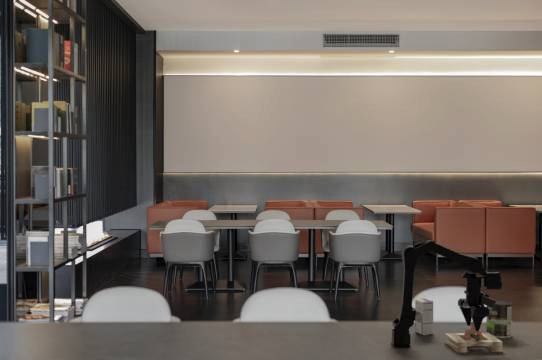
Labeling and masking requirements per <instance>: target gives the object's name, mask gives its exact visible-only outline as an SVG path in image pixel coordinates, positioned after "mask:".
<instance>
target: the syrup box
mask: <svg viewBox="0 0 542 360" xmlns="http://www.w3.org/2000/svg"><path fill="white" fill-rule="evenodd" d="M414 301H415V302H414V308H415V310H416V315H415V319H416V321H414V325H415V326H414V329H415V330H414V332H415V333H416V334H418V333H419V335H421V336H430V335H429V334H432V335H434V300H433V299H432V300H431V299H428V298H417V299H415V300H414Z"/></svg>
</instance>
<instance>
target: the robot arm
mask: <svg viewBox="0 0 542 360" xmlns="http://www.w3.org/2000/svg"><path fill="white" fill-rule="evenodd" d="M431 252H432V253H435V254H437V255H439V256H441V257H444V258H446V259H448V260H451V261H453V262H455V263H457V264H459V265H461V266H462V267H463V268H465V269H466V270H468V271H470V273H469V272H467V271H466V270H465V271H463V273H462V274H461V275H460V276H461V278H463V279H465V289H464V290H463V292H464V294H465V298H459V299H458V300H457V306H458V307H459V309H460V312H461V314H462V315H463V318H464V321H465V323H466V325H467V326H468V327H469V326H470V327H471V322H473V324H474V327H475V330H476V331H479V330H481V326H482V323H483V320H484V319H485V318H486V317H487V316H488V315H490V310H489V309H488V308H487V306H490V307H491V308H494V306H495V303H496V301H495V300H496V299H493V298H492V297H490V295H489V294H487V293H485V292H483V291H482V287H484V290H498V291H499V290H502V288H503V286H502V285H503V281H502V277H501V273H500V272H499V271H494V272H492V271H491V272H488V271H486V269H485V268H484V264H483V261H482V260H481V259H479V258H478V257H476V256H473V255H468V254H466V253H465V254H464V253H460V252H458V251H455V250H453V249H451V248H448V247H446V246H444V245H441V244H439V243H436V241H433V240H431V239H427V240H426V241H423V242H419V243H417V244H414V245H412V244H411V245H410V244H409V245H405V246H403V247H402V249H401V255H402V256H401V258H402V259H401V260H402V265H403V279H402V294H401V295H402V296H401V304H400V306H399V309H398V314H397V317H396V318H395V319H394V320H393V321H392V322H391V323H392V327H393V328H391V341H390V345H392V346H393V347H394V348H411V338H412V337H411V333H410V328H412V327H413V326H414V325H415V321H416V319H415V315H416V310H415V307H413V293H414V276H415V275H414V274H415V269H416V266H417V262H418V259H419V257H421V256H423V255H425V254H428V253H431ZM477 274H479V275H477Z"/></svg>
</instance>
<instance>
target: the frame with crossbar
mask: <svg viewBox="0 0 542 360" xmlns="http://www.w3.org/2000/svg"><path fill="white" fill-rule="evenodd" d="M464 336H465V332H455V333H454V332H448V333H447V332H445V333H444V344H445V345H447V346H448V347H449V348H450V347H451V348H450V349H452V350H453V351H454V352H455V353H462V354H464V353H468V347H484V348H486V349H488V350H489V351H490V352H492V353H503V349H504V348H503V346H504V342H503V341H502V340H500V338H496V337H494V336H493V335H491V334H490V333H486V332H482V340H480V338H479V337H478V336H477V335H476V334H470V340H464ZM471 339H473V340H471Z"/></svg>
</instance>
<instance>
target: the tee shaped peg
mask: <svg viewBox="0 0 542 360" xmlns="http://www.w3.org/2000/svg"><path fill="white" fill-rule="evenodd" d="M464 330H465V331H464V333H465V336H464V339H463V340H471V339H470V334H476V335H477V336H478V337H479V338H480V340H482V333H483V332H482V330H481V329H479V331H476V330H475V327H474V324H473V321H471V325H470V329H464Z"/></svg>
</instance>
